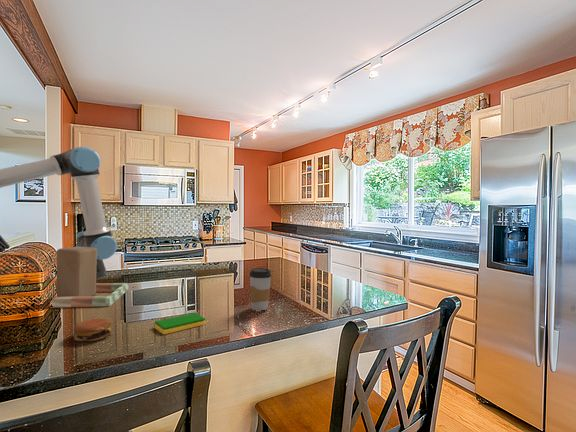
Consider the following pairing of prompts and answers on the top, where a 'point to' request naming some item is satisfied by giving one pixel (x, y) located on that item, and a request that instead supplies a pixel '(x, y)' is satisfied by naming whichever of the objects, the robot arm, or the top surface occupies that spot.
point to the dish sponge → (179, 323)
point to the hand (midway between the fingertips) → (16, 263)
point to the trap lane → (93, 300)
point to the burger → (92, 330)
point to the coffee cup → (259, 288)
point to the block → (76, 272)
